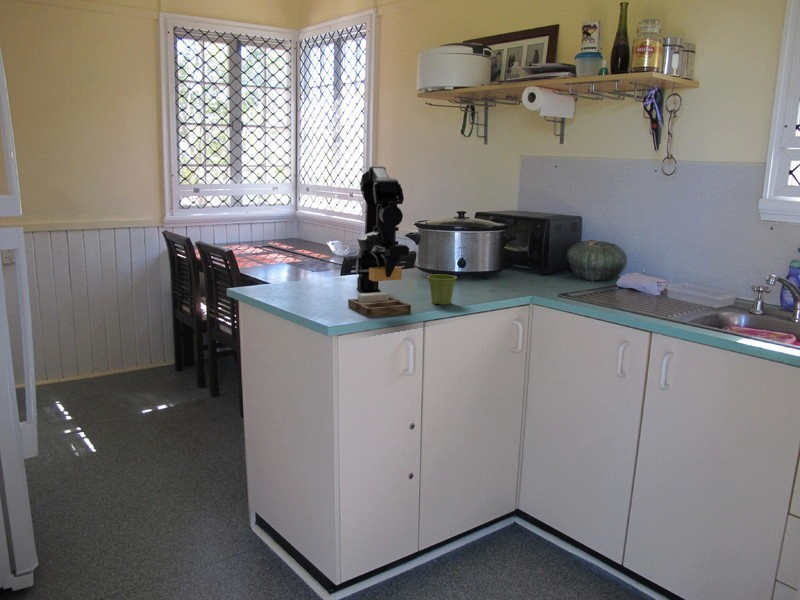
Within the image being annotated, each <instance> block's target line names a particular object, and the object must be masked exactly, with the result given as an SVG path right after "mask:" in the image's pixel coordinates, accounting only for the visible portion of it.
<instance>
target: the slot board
mask: <svg viewBox="0 0 800 600" xmlns="http://www.w3.org/2000/svg"><path fill="white" fill-rule="evenodd" d="M347 300H348V301H347V307H348V306H349V307H350V308H349V307H348V308H349V309H351V308H352V309H351V310H353V309H354V311H355V310H356V312H357V311H358V313H359V312H360V313H359V314H361V313H362V315H363V314H364V315H363V316H366V317H367V318H372V317H382V316H393V315H404V314H411V313H412V311H411V310H412V309H411V307H412V305H411V304H409V303H407V302H404V301H402V300H400V299H397V298H395V297H392V296H390V295H389V300H387V301H375V302H364V303H358V298H348V299H347Z"/></svg>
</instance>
